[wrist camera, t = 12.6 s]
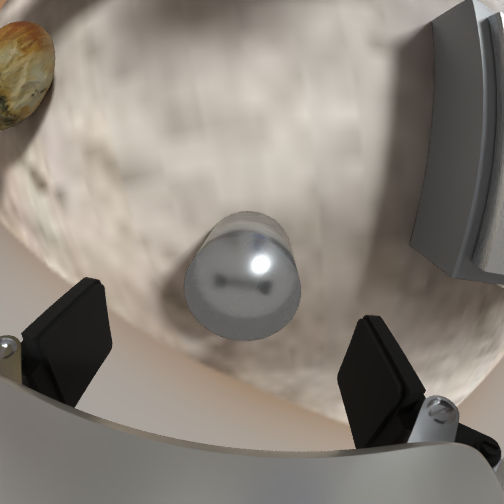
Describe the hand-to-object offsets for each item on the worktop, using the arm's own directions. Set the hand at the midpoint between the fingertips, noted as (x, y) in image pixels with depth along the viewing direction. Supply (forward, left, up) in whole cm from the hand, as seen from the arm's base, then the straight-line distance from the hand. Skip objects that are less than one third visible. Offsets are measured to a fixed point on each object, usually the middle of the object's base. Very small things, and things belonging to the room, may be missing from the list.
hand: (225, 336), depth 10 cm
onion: (+17, -11, -8) cm, 22 cm away
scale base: (-18, -10, -8) cm, 22 cm away
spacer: (0, 0, -8) cm, 8 cm away
